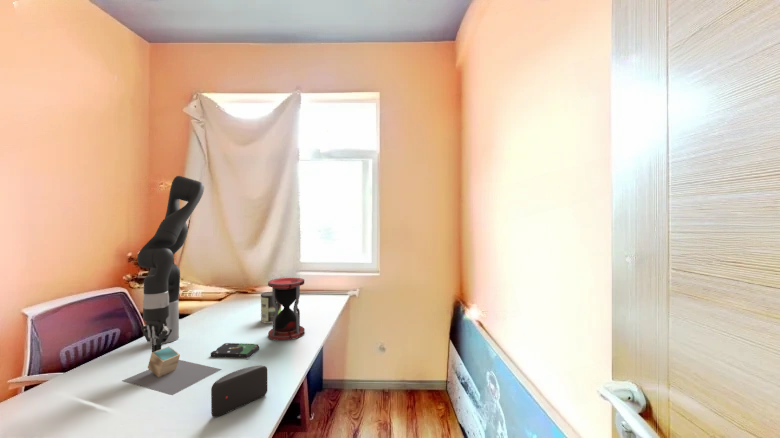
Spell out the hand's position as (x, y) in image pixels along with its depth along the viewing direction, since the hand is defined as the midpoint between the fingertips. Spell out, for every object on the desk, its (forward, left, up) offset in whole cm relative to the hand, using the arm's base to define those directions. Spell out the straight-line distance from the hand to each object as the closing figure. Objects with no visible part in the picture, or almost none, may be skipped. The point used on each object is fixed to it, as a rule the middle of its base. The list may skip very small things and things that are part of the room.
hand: (156, 354), depth 116 cm
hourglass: (+18, +47, -7) cm, 51 cm away
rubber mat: (+8, 0, -6) cm, 10 cm away
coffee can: (-3, +61, -7) cm, 62 cm away
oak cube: (+2, 0, -5) cm, 5 cm away
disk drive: (+13, +22, -7) cm, 27 cm away
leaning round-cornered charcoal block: (+43, -5, -7) cm, 44 cm away
